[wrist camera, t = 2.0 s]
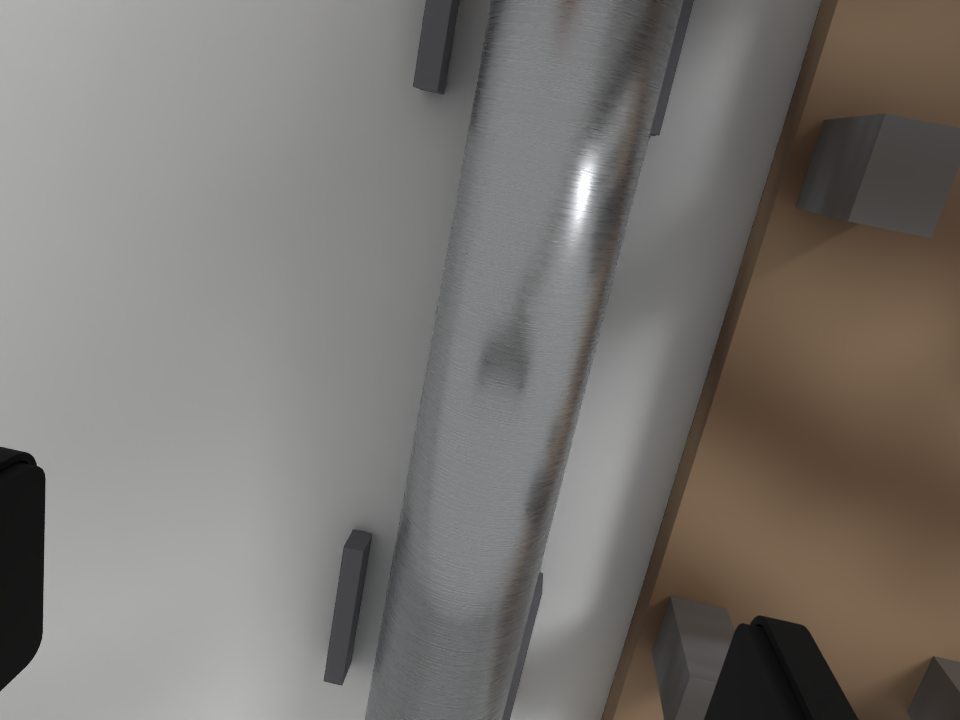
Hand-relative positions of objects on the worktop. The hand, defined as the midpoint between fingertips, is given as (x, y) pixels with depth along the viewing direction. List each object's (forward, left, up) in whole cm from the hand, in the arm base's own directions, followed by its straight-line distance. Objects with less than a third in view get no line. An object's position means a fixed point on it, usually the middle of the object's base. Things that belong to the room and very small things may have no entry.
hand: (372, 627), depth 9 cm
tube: (-1, 0, -11) cm, 11 cm away
